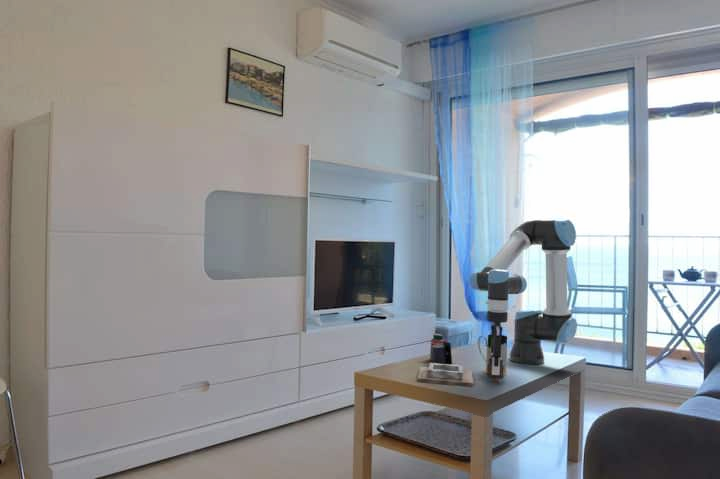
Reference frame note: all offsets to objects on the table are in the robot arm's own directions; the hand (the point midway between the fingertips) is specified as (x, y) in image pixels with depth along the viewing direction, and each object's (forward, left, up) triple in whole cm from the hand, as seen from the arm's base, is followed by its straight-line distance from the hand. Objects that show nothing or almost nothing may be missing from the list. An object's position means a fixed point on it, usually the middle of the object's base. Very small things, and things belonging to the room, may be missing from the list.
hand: (494, 372), depth 202 cm
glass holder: (0, -17, -4) cm, 17 cm away
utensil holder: (0, 0, -2) cm, 2 cm away
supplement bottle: (+22, -31, -4) cm, 38 cm away
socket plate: (+18, 0, -3) cm, 18 cm away
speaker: (+20, -20, -4) cm, 28 cm away
